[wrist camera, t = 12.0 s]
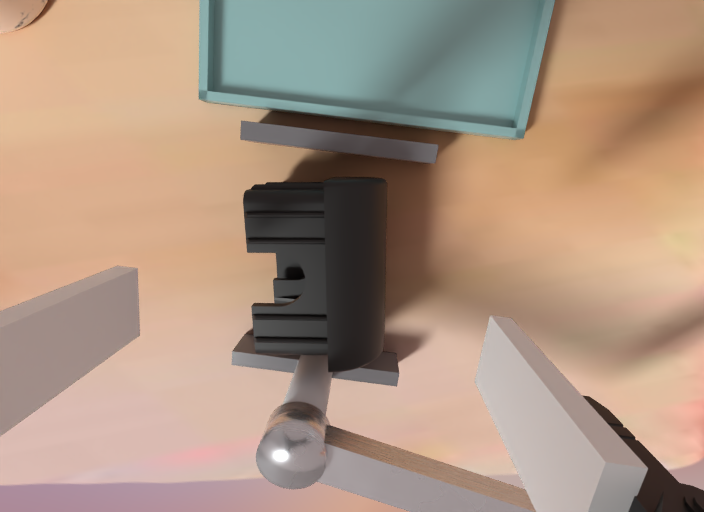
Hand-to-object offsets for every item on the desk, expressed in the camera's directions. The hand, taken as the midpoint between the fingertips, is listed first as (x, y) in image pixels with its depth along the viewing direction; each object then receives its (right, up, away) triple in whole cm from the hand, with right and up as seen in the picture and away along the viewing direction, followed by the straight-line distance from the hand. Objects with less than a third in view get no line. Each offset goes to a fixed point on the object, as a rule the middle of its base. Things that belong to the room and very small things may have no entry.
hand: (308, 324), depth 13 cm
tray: (+3, +18, +7) cm, 19 cm away
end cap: (0, +3, +11) cm, 11 cm away
